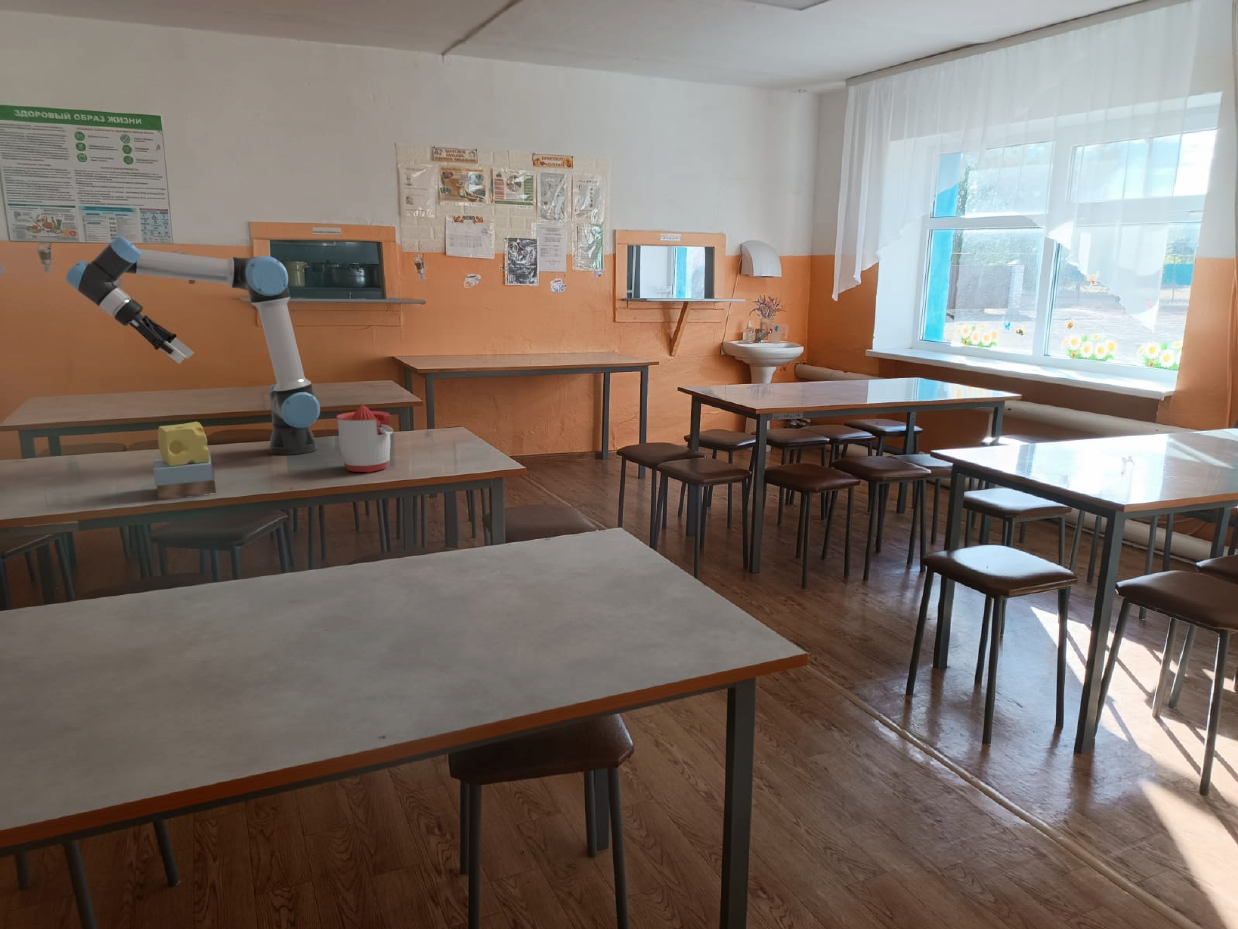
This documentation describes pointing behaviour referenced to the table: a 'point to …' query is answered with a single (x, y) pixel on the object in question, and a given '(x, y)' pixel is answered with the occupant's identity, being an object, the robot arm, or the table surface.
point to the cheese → (183, 444)
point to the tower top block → (181, 473)
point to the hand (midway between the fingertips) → (187, 358)
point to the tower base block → (186, 489)
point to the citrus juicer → (364, 439)
